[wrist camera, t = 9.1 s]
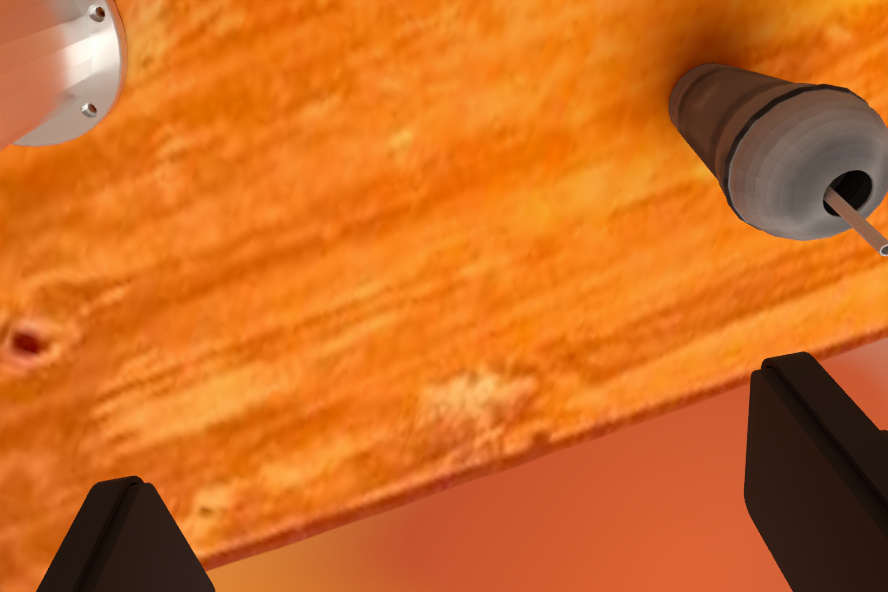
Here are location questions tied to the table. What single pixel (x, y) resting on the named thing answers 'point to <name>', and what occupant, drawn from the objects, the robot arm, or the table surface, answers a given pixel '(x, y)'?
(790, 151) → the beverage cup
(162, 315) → the table surface
